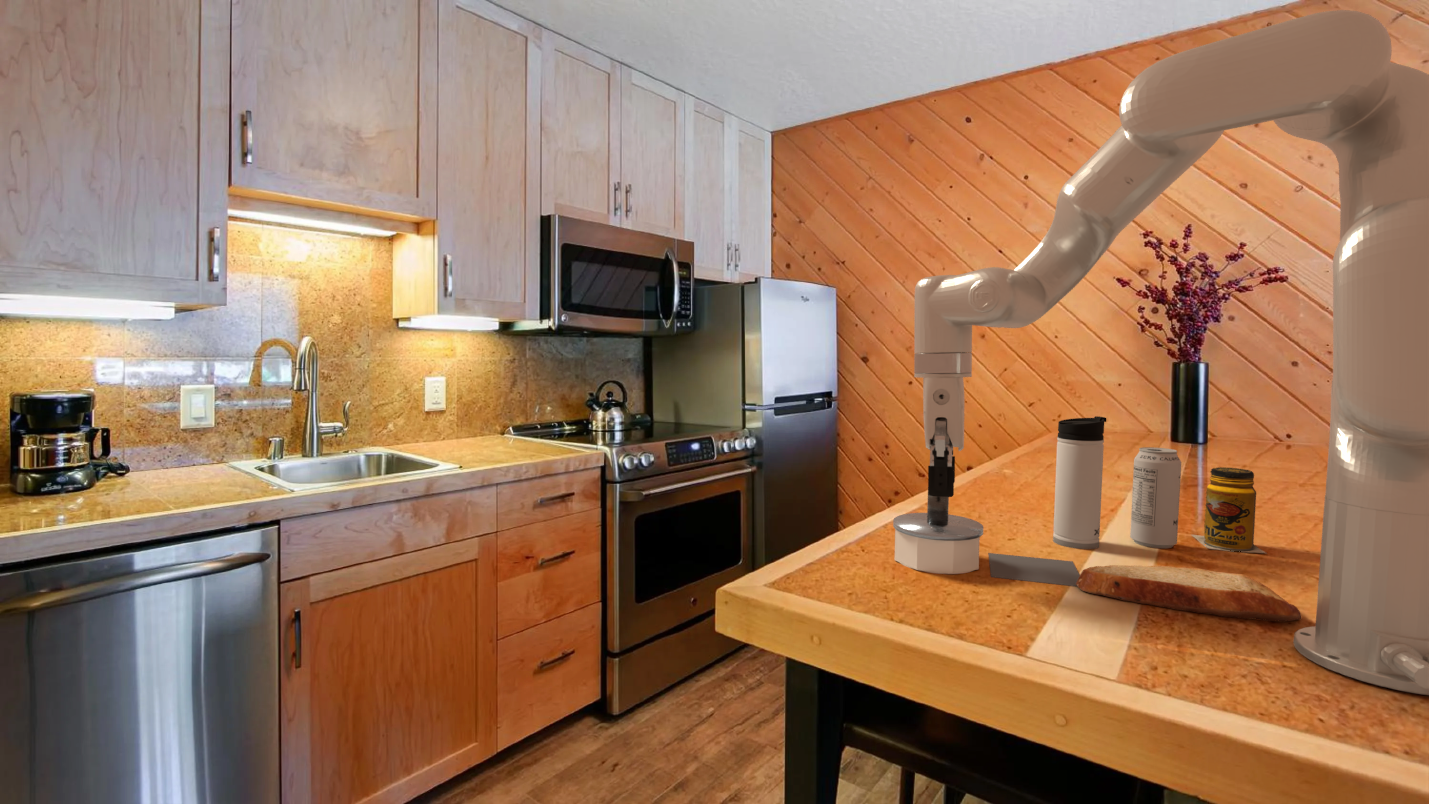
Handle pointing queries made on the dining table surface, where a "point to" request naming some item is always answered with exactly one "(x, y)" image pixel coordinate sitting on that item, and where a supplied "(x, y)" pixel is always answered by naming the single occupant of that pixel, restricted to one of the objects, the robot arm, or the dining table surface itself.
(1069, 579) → the mat
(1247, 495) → the condiment
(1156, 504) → the energy drink can
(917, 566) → the bowl
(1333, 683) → the dining table surface
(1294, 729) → the dining table surface
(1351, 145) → the robot arm
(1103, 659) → the dining table surface
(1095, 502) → the travel mug
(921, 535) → the lid
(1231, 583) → the bread slice
